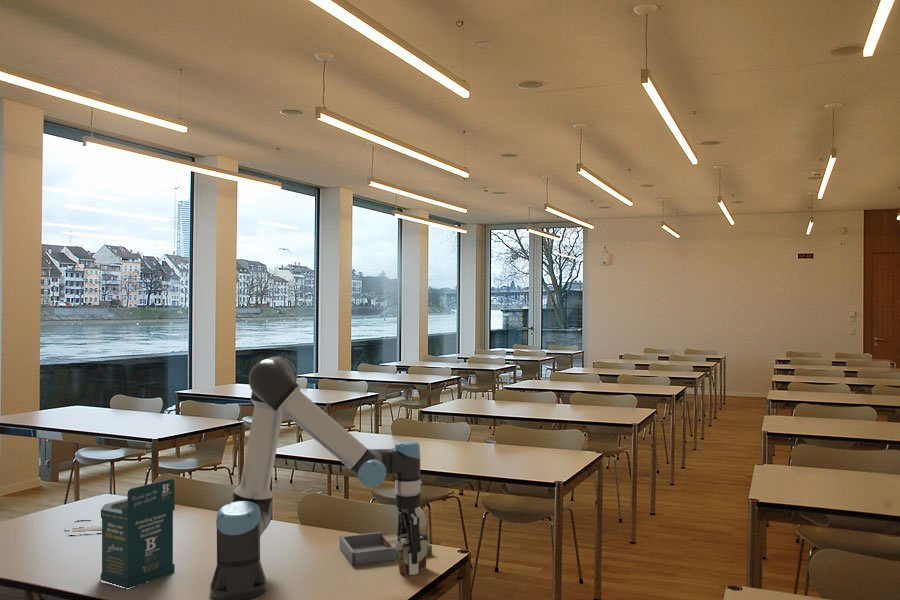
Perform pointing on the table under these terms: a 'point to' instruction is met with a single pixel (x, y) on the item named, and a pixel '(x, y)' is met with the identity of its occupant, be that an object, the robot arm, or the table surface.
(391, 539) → the tan wooden flat block
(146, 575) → the donation box
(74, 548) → the table surface
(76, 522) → the table surface
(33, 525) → the table surface
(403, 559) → the food container
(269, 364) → the robot arm
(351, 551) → the tray
